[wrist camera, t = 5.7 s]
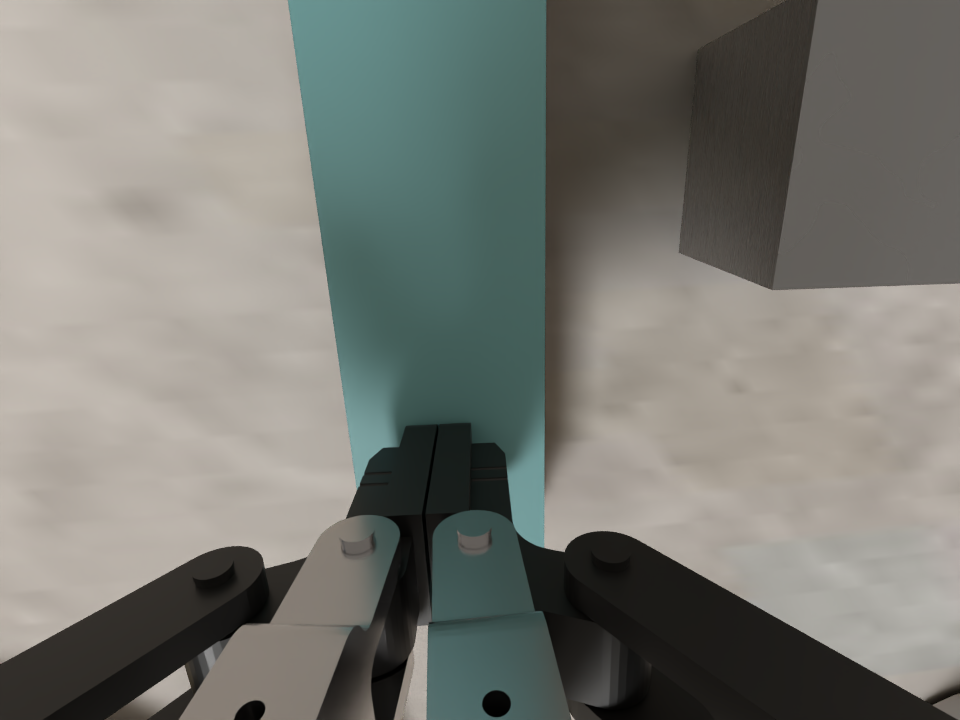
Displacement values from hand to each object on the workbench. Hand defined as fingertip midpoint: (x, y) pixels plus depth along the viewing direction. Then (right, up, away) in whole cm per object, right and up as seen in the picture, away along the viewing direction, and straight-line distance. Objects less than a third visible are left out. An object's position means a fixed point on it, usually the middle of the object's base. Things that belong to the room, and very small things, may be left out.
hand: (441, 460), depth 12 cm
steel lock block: (+9, +8, +2) cm, 12 cm away
